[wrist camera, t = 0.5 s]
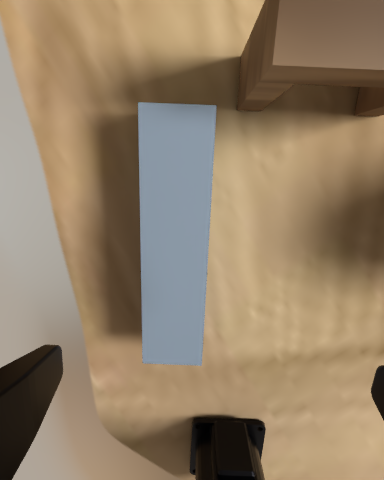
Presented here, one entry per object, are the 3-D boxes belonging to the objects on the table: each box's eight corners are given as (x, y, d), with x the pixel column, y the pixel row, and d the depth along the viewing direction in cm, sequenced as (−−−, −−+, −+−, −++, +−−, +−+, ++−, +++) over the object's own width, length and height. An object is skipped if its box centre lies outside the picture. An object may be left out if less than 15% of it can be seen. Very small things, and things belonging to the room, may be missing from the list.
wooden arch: (377, 116, 17) (531, 76, 9) (236, 110, 17) (272, 64, 9) (389, 62, 16) (569, -32, 8) (241, 55, 16) (284, -44, 8)
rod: (200, 329, 22) (201, 365, 18) (152, 327, 22) (142, 363, 18) (211, 118, 17) (216, 105, 13) (150, 115, 17) (137, 102, 13)
